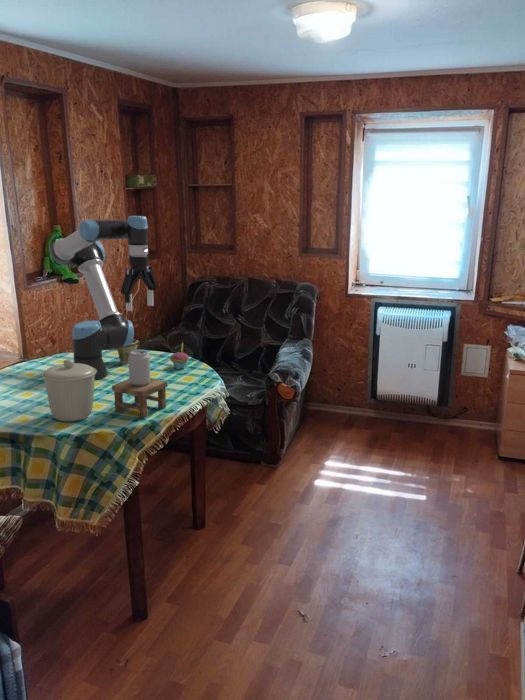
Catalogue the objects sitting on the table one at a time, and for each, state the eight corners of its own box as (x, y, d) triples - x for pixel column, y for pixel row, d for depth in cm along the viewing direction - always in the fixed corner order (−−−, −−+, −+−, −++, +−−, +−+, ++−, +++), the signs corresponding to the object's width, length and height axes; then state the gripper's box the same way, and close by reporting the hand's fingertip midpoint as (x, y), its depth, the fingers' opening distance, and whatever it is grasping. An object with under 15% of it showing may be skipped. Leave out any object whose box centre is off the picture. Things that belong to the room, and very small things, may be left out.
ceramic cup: (127, 366, 266) (126, 345, 264) (111, 362, 272) (111, 341, 269) (147, 360, 277) (146, 339, 274) (132, 356, 282) (131, 336, 280)
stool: (113, 411, 210) (112, 385, 208) (137, 400, 222) (137, 375, 220) (144, 419, 204) (143, 392, 202) (167, 407, 216) (167, 381, 214)
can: (154, 381, 213) (153, 350, 210) (143, 387, 206) (142, 355, 203) (136, 379, 215) (135, 348, 212) (125, 385, 208) (124, 353, 205)
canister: (37, 426, 195) (33, 366, 190) (53, 407, 213) (49, 352, 208) (92, 426, 196) (89, 366, 191) (103, 407, 214) (101, 352, 209)
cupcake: (179, 364, 272) (179, 339, 269) (193, 367, 267) (193, 342, 264) (166, 367, 265) (166, 342, 262) (180, 371, 261) (179, 345, 258)
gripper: (125, 258, 218) (127, 313, 224) (165, 253, 240) (166, 304, 245) (109, 257, 222) (112, 311, 227) (150, 252, 243) (151, 302, 249)
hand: (140, 308), depth 236 cm, fingers open, 13 cm apart
